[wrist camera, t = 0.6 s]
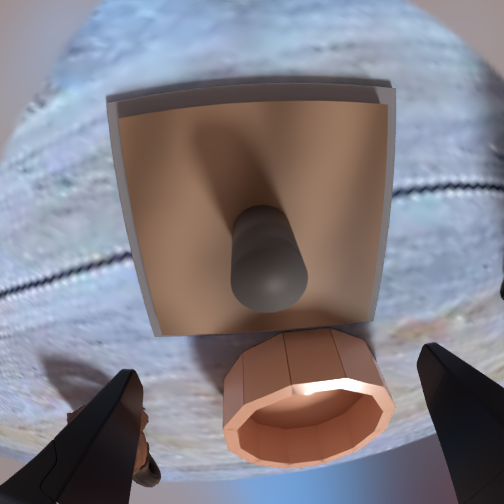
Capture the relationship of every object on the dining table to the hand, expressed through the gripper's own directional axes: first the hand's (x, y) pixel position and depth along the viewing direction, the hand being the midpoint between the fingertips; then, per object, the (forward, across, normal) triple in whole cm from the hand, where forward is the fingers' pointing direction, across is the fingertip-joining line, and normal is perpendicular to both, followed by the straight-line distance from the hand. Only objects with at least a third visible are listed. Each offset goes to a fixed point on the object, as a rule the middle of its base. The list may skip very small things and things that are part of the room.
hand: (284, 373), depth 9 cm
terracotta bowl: (+11, -3, +15) cm, 19 cm away
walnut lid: (+11, 0, 0) cm, 11 cm away
